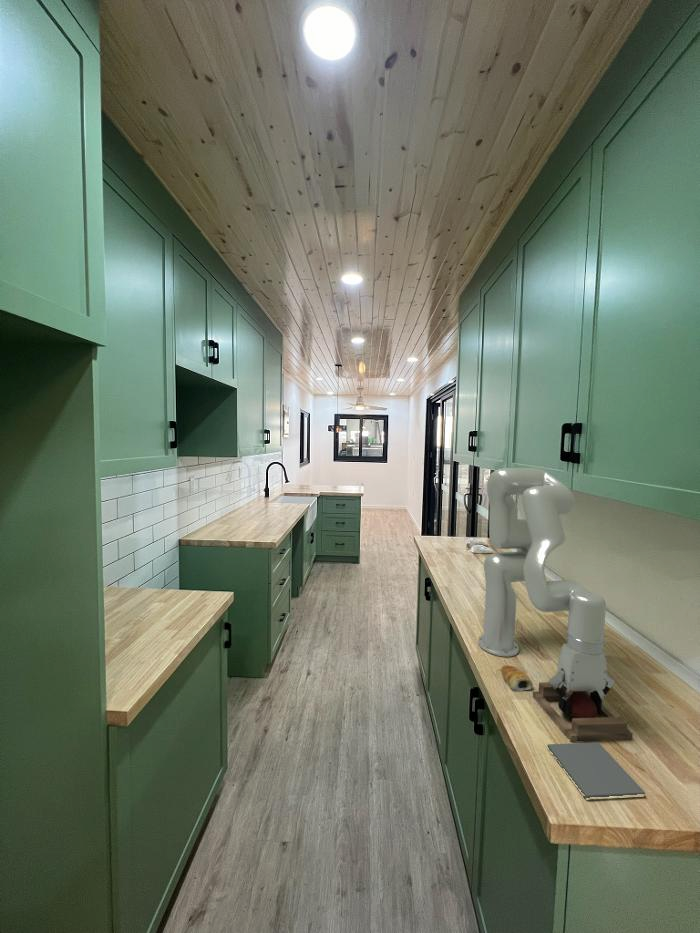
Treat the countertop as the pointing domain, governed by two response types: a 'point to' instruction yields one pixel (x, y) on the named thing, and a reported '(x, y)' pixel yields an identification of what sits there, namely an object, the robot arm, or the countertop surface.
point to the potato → (582, 705)
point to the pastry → (516, 678)
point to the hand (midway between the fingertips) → (579, 711)
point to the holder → (582, 720)
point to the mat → (594, 770)
